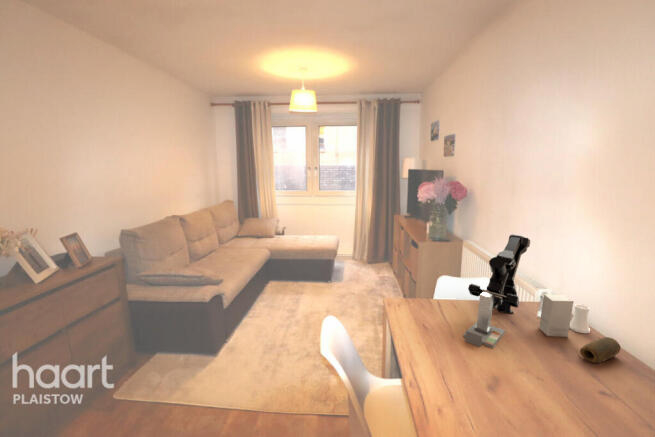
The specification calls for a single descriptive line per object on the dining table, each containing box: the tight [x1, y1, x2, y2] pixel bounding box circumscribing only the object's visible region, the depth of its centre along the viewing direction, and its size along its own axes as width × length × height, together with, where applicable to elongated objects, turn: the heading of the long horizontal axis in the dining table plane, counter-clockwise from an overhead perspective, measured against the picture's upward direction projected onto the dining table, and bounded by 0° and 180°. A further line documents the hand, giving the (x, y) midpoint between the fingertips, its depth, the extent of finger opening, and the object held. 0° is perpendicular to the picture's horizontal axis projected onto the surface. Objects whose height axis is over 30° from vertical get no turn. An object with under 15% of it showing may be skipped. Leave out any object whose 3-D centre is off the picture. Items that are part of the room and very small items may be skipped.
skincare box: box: [538, 293, 574, 338], centre depth 129 cm, size 8×7×16 cm
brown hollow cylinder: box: [579, 336, 621, 364], centre depth 113 cm, size 15×7×7 cm, turn 119°
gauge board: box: [462, 321, 506, 349], centre depth 126 cm, size 19×11×4 cm, turn 137°
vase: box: [569, 303, 591, 334], centre depth 133 cm, size 8×8×10 cm
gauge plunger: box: [474, 292, 500, 335], centre depth 126 cm, size 5×9×15 cm, turn 47°
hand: (486, 313), depth 129 cm, fingers closed
